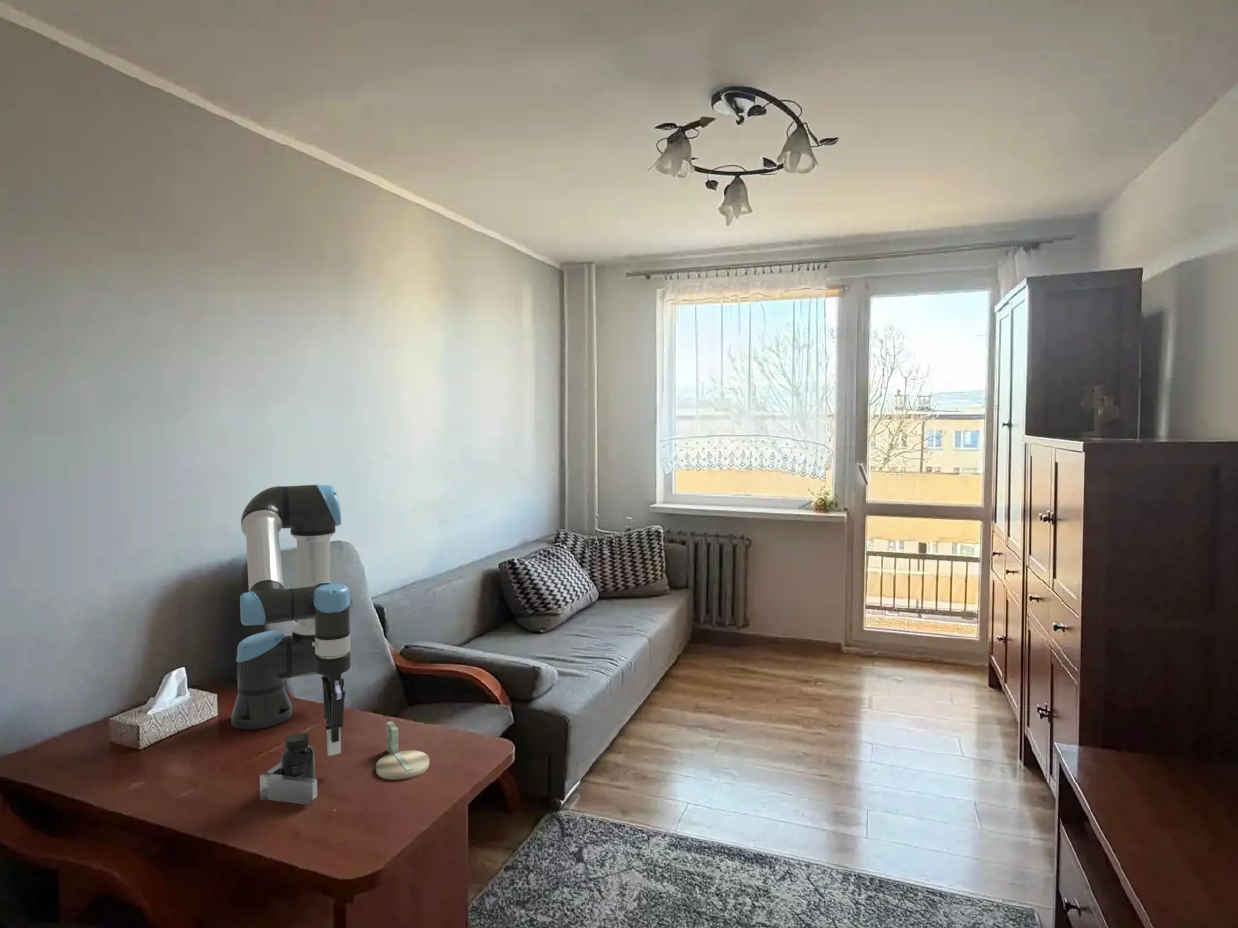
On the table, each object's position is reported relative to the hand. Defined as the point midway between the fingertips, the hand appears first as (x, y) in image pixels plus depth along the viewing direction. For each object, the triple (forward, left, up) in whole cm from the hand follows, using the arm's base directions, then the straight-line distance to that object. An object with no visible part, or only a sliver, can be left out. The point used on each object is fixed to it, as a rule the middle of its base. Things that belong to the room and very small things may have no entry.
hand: (334, 753), depth 166 cm
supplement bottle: (+1, -8, -6) cm, 10 cm away
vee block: (+1, -10, -6) cm, 12 cm away
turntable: (+3, +14, -5) cm, 15 cm away
